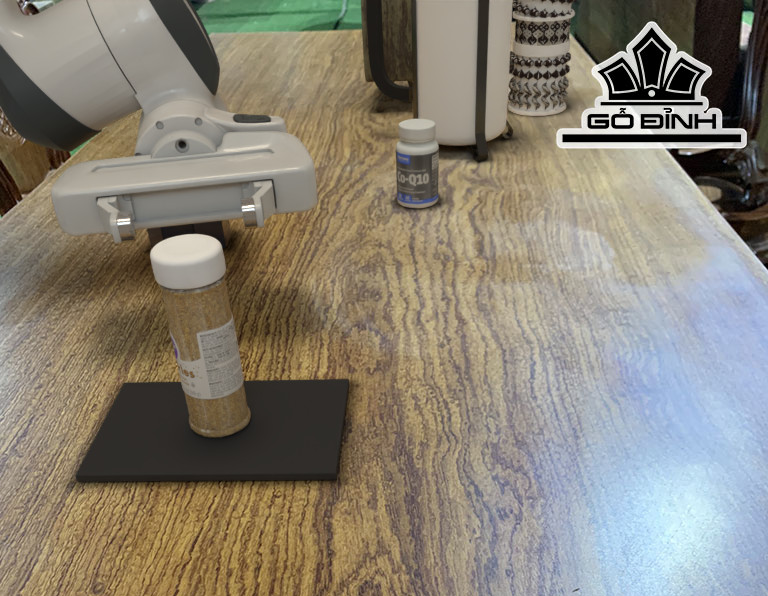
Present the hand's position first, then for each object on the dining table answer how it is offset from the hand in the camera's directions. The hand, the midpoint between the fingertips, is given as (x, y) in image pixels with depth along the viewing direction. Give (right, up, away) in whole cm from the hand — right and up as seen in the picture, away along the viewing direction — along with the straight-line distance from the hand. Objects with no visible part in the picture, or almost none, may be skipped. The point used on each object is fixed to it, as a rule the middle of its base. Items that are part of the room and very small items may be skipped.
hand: (188, 225), depth 60 cm
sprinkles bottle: (+2, -14, +1) cm, 15 cm away
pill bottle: (+18, +14, +34) cm, 41 cm away
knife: (+36, +56, +82) cm, 106 cm away
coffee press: (+23, +28, +49) cm, 61 cm away
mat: (+2, -15, +1) cm, 15 cm away
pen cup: (-6, +8, +28) cm, 30 cm away
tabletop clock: (+17, +42, +66) cm, 80 cm away
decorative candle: (+37, +38, +61) cm, 80 cm away
